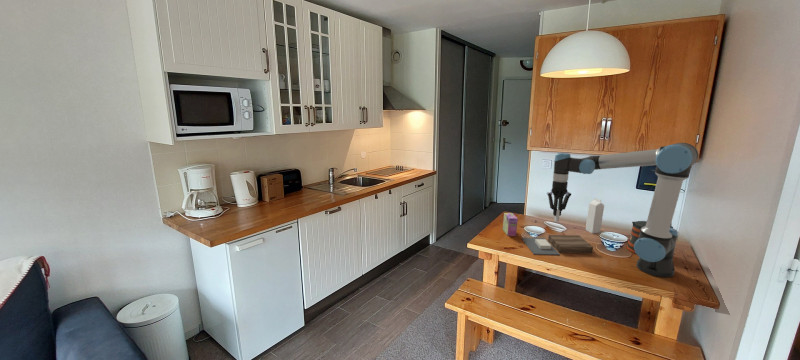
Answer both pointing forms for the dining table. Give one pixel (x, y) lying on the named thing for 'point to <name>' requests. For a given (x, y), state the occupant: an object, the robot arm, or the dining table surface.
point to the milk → (594, 216)
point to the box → (510, 224)
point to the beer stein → (636, 234)
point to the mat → (535, 249)
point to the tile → (542, 244)
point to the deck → (570, 244)
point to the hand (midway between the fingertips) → (556, 220)
